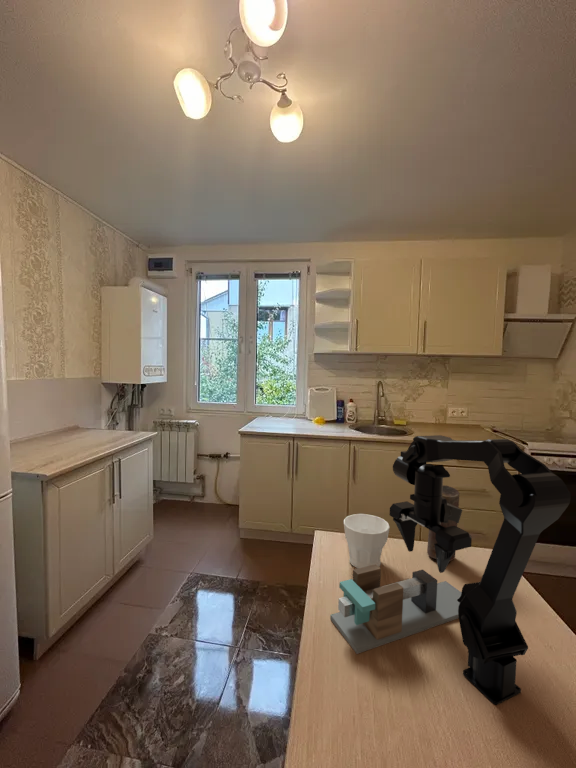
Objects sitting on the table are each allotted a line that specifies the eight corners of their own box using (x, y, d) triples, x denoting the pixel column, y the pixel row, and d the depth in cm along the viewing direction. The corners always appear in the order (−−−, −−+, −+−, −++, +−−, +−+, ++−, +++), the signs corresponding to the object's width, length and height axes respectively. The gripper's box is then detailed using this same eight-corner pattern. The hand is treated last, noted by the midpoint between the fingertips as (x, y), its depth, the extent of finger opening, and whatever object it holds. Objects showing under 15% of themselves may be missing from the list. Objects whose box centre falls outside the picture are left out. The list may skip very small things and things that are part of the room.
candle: (457, 555, 104) (460, 487, 102) (454, 567, 97) (458, 495, 96) (429, 548, 107) (432, 482, 106) (424, 559, 101) (428, 490, 100)
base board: (480, 610, 80) (481, 606, 80) (356, 654, 68) (356, 649, 68) (445, 584, 90) (445, 580, 90) (330, 619, 77) (330, 614, 77)
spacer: (374, 627, 70) (375, 603, 70) (361, 631, 69) (362, 607, 68) (350, 600, 78) (351, 578, 77) (338, 603, 76) (339, 582, 76)
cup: (338, 569, 95) (339, 529, 95) (346, 546, 107) (347, 510, 106) (386, 579, 91) (388, 537, 91) (389, 554, 103) (390, 517, 102)
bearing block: (401, 636, 72) (403, 587, 72) (376, 644, 70) (378, 594, 69) (374, 607, 81) (375, 564, 80) (351, 614, 78) (353, 569, 78)
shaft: (436, 610, 79) (437, 580, 78) (346, 639, 70) (347, 606, 70) (421, 597, 83) (422, 569, 83) (335, 624, 74) (336, 592, 74)
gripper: (492, 502, 73) (488, 576, 74) (424, 476, 91) (422, 536, 91) (452, 510, 69) (448, 588, 70) (389, 480, 86) (386, 544, 87)
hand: (425, 561), depth 80 cm, fingers open, 9 cm apart
